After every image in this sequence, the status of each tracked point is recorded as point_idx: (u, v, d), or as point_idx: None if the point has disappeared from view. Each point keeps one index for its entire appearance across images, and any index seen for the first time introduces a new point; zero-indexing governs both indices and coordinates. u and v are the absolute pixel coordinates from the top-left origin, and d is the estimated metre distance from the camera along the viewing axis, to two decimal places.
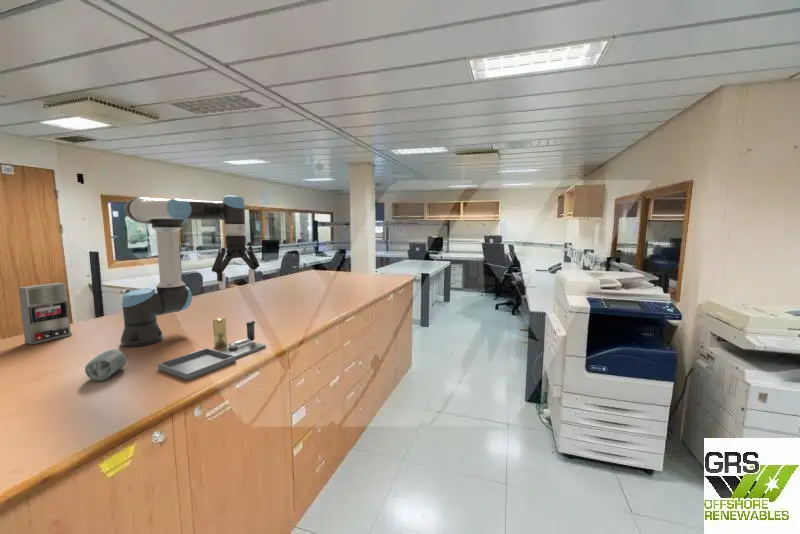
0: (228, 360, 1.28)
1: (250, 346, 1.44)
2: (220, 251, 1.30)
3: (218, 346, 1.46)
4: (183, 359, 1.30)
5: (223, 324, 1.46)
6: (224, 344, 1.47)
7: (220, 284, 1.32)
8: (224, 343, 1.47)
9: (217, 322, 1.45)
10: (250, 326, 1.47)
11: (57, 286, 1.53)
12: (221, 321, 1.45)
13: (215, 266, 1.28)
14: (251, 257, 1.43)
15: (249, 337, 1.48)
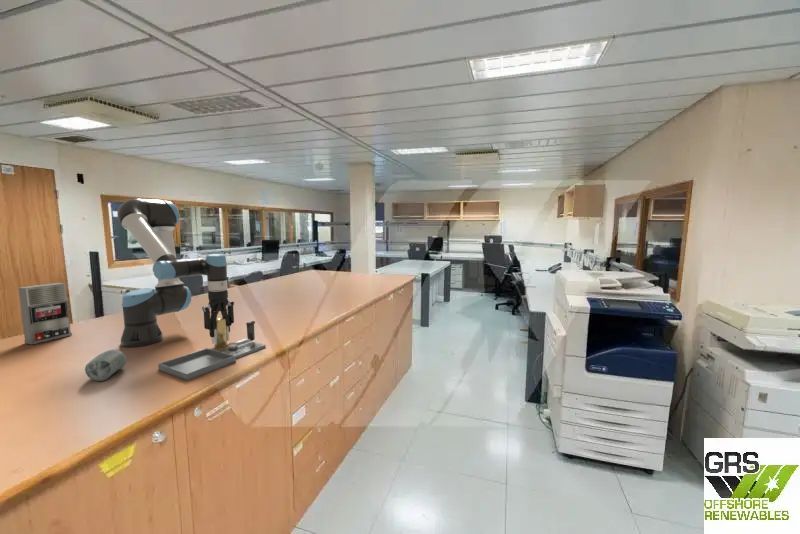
0: (228, 360, 1.28)
1: (250, 346, 1.44)
2: (204, 310, 1.41)
3: (218, 346, 1.46)
4: (183, 359, 1.30)
5: (223, 324, 1.46)
6: (224, 344, 1.47)
7: (212, 339, 1.45)
8: (224, 343, 1.47)
9: (217, 322, 1.45)
10: (250, 326, 1.47)
11: (57, 286, 1.53)
12: (221, 321, 1.45)
13: (206, 325, 1.42)
14: (229, 312, 1.51)
15: (249, 337, 1.48)
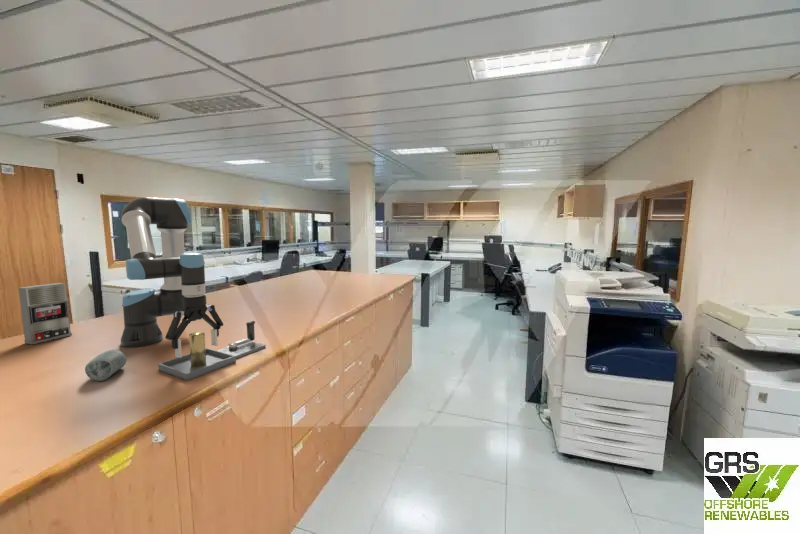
0: (228, 360, 1.28)
1: (250, 346, 1.44)
2: (175, 316, 1.18)
3: (195, 366, 1.24)
4: (183, 359, 1.30)
5: (201, 340, 1.24)
6: (202, 363, 1.25)
7: (176, 351, 1.20)
8: (202, 362, 1.25)
9: (194, 337, 1.23)
10: (250, 326, 1.47)
11: (57, 286, 1.53)
12: (198, 336, 1.23)
13: (169, 333, 1.16)
14: (213, 316, 1.31)
15: (249, 337, 1.48)
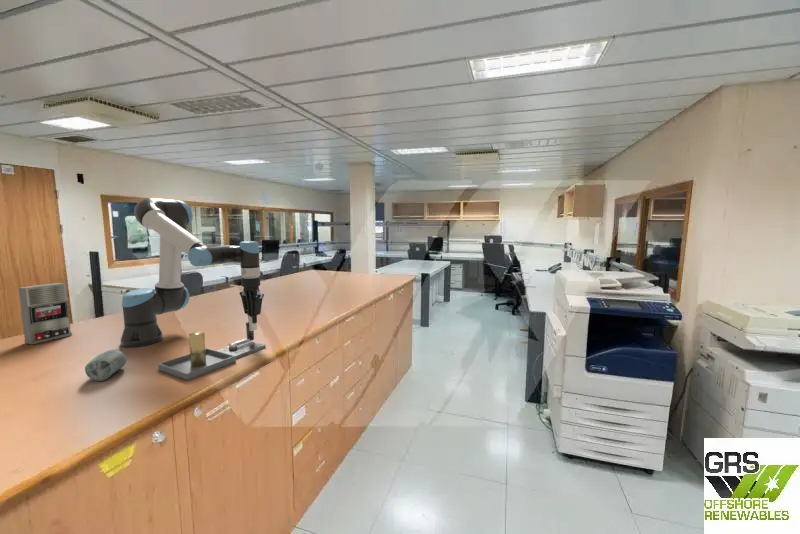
0: (228, 360, 1.28)
1: (250, 346, 1.44)
2: None
3: (195, 366, 1.24)
4: (183, 359, 1.30)
5: (201, 340, 1.24)
6: (202, 363, 1.25)
7: None
8: (202, 362, 1.25)
9: (193, 337, 1.23)
10: None
11: (57, 286, 1.53)
12: (198, 336, 1.24)
13: None
14: None
15: (249, 337, 1.48)
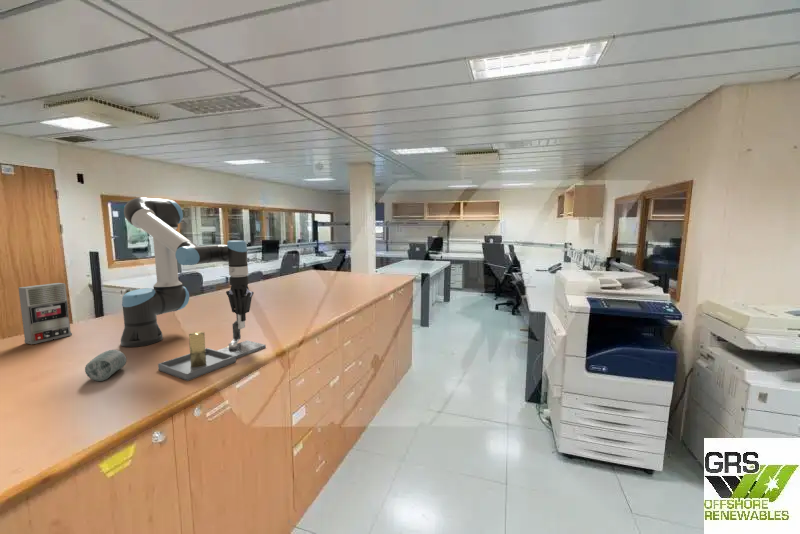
0: (228, 360, 1.28)
1: (250, 346, 1.44)
2: None
3: (195, 366, 1.24)
4: (183, 359, 1.30)
5: (201, 340, 1.24)
6: (202, 363, 1.25)
7: None
8: (202, 362, 1.25)
9: (193, 337, 1.23)
10: None
11: (57, 286, 1.53)
12: (198, 336, 1.24)
13: None
14: None
15: (237, 336, 1.49)
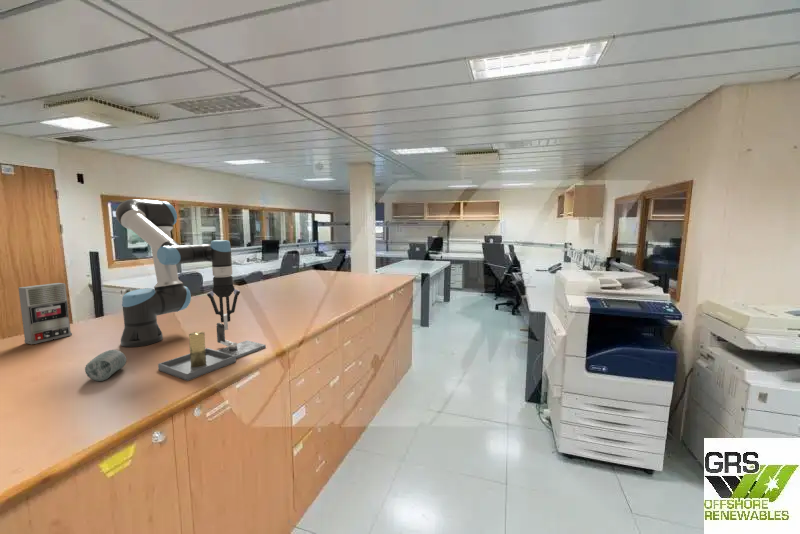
0: (228, 360, 1.28)
1: (250, 346, 1.44)
2: (209, 297, 1.43)
3: (195, 366, 1.24)
4: (183, 359, 1.30)
5: (201, 340, 1.24)
6: (202, 363, 1.25)
7: (224, 324, 1.47)
8: (202, 362, 1.25)
9: (193, 337, 1.23)
10: None
11: (57, 286, 1.53)
12: (198, 336, 1.24)
13: None
14: (233, 300, 1.47)
15: (224, 338, 1.46)
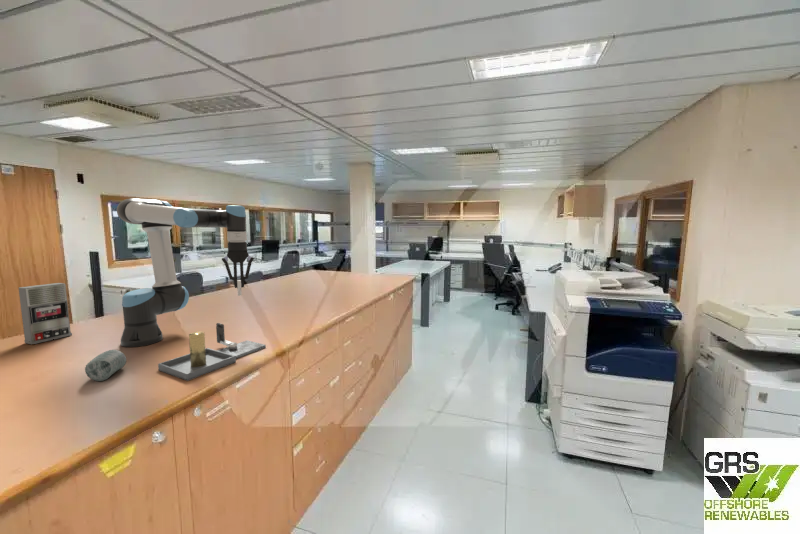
0: (228, 360, 1.28)
1: (250, 346, 1.44)
2: (223, 261, 1.44)
3: (195, 366, 1.24)
4: (183, 359, 1.30)
5: (201, 340, 1.24)
6: (202, 363, 1.25)
7: (237, 290, 1.48)
8: (202, 362, 1.25)
9: (193, 337, 1.23)
10: (223, 327, 1.46)
11: (57, 286, 1.53)
12: (198, 336, 1.23)
13: None
14: (247, 267, 1.48)
15: (223, 338, 1.46)
